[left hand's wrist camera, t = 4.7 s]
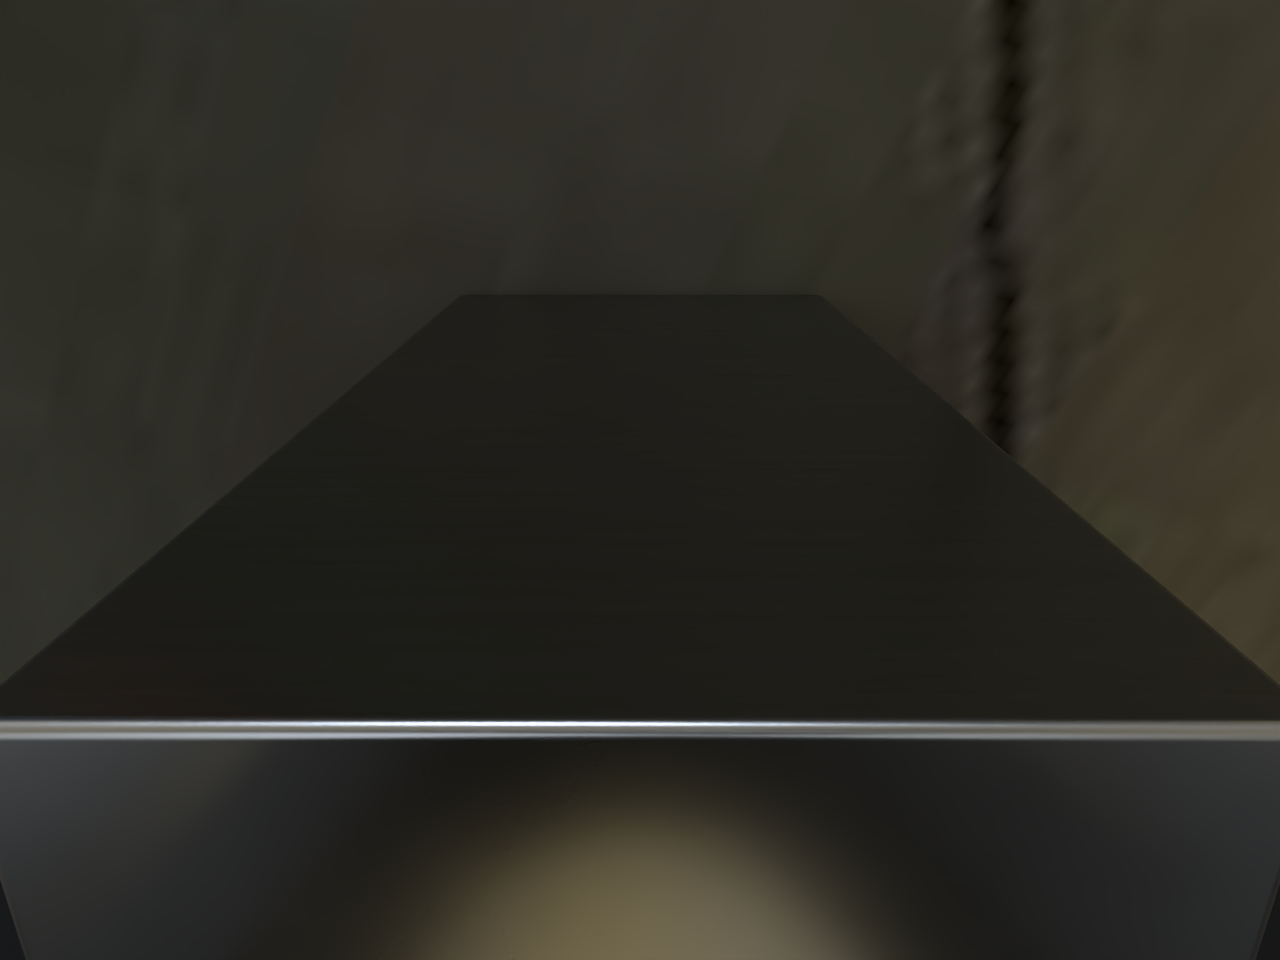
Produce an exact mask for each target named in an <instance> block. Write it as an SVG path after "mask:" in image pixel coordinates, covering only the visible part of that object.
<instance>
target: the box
mask: <svg viewBox="0 0 1280 960" xmlns="http://www.w3.org/2000/svg"><path fill="white" fill-rule="evenodd" d="M0 881H1V884H2V887H3V890H4V893H5V896H6V899H7V902H8V906H9V909H10V912H11V915H12V918H13V921H14V924H15V927H16V931H17V934H18V937H19V940H20V943H21V946H22V949H23V952H24V955H25V959H26V960H1256V957H1257V954H1258V950H1259V947H1260V944H1261V941H1262V938H1263V935H1264V932H1265V929H1266V926H1267V922H1268V919H1269V916H1270V913H1271V910H1272V907H1273V904H1274V901H1275V898H1276V895H1277V891H1278V888H1279V885H1280V685H1279V684H1278V683H1277V682H1276V681H1274V680H1273V679H1272V678H1271V677H1270V676H1269V675H1267V674H1266V673H1265V672H1264V671H1263V670H1261V669H1260V668H1259V667H1258V666H1257V665H1256V664H1254V663H1253V662H1252V661H1251V660H1250V659H1248V658H1247V657H1246V656H1245V655H1244V654H1243V653H1241V652H1240V651H1239V650H1238V649H1237V648H1236V647H1234V646H1233V645H1232V644H1231V643H1230V642H1228V641H1227V640H1226V639H1225V638H1224V637H1223V636H1221V635H1220V634H1219V633H1218V632H1217V631H1215V630H1214V629H1213V628H1212V627H1211V626H1210V625H1208V624H1207V623H1206V622H1205V621H1204V620H1203V619H1201V618H1200V617H1199V616H1198V615H1197V614H1195V613H1194V612H1193V611H1192V610H1191V609H1190V608H1188V607H1187V606H1186V605H1185V604H1184V603H1182V602H1181V601H1180V600H1179V599H1178V598H1177V597H1175V596H1174V595H1173V594H1172V593H1171V592H1169V591H1168V590H1167V589H1166V588H1165V587H1164V586H1162V585H1161V584H1160V583H1159V582H1158V581H1157V580H1155V579H1154V578H1153V577H1152V576H1151V575H1149V574H1148V573H1147V572H1146V571H1145V570H1144V569H1142V568H1141V567H1140V566H1139V565H1138V564H1136V563H1135V562H1134V561H1133V560H1132V559H1131V558H1129V557H1128V556H1127V555H1126V554H1125V553H1124V552H1122V551H1121V550H1120V549H1119V548H1118V547H1116V546H1115V545H1114V544H1113V543H1112V542H1111V541H1109V540H1108V539H1107V538H1106V537H1105V536H1103V535H1102V534H1101V533H1100V532H1099V531H1098V530H1096V529H1095V528H1094V527H1093V526H1092V525H1091V524H1089V523H1088V522H1087V521H1086V520H1085V519H1083V518H1082V517H1081V516H1080V515H1079V514H1078V513H1076V512H1075V511H1074V510H1073V509H1072V508H1070V507H1069V506H1068V505H1067V504H1066V503H1065V502H1063V501H1062V500H1061V499H1060V498H1059V497H1057V496H1056V495H1055V494H1054V493H1053V492H1052V491H1050V490H1049V489H1048V488H1047V487H1046V486H1045V485H1043V484H1042V483H1041V482H1040V481H1039V480H1037V479H1036V478H1035V477H1034V476H1033V475H1032V474H1030V473H1029V472H1028V471H1027V470H1026V469H1024V468H1023V467H1022V466H1021V465H1020V464H1019V463H1017V462H1016V461H1015V460H1014V459H1013V458H1012V457H1010V456H1009V455H1008V454H1007V453H1006V452H1004V451H1003V450H1002V449H1001V448H1000V447H999V446H997V445H996V444H995V443H994V442H993V441H991V440H990V439H989V438H988V437H987V436H986V435H984V434H983V433H982V432H981V431H980V430H978V429H977V428H976V427H975V426H974V425H973V424H971V423H970V422H969V421H968V420H967V419H966V418H964V417H963V416H962V415H961V414H960V413H958V412H957V411H956V410H955V409H954V408H953V407H951V406H950V405H949V404H948V403H947V402H945V401H944V400H943V399H942V398H941V397H940V396H938V395H937V394H936V393H935V392H934V391H933V390H931V389H930V388H929V387H928V386H927V385H925V384H924V383H923V382H922V381H921V380H920V379H918V378H917V377H916V376H915V375H914V374H912V373H911V372H910V371H909V370H908V369H907V368H905V367H904V366H903V365H902V364H901V363H900V362H898V361H897V360H896V359H895V358H894V357H892V356H891V355H890V354H889V353H888V352H887V351H885V350H884V349H883V348H882V347H881V346H879V345H878V344H877V343H876V342H875V341H874V340H872V339H871V338H870V337H869V336H868V335H866V334H865V333H864V332H863V331H862V330H861V329H859V328H858V327H857V326H856V325H855V324H854V323H852V322H851V321H850V320H849V319H848V318H846V317H845V316H844V315H843V314H842V313H841V312H839V311H838V310H837V309H836V308H835V307H833V306H832V305H831V304H830V303H829V302H828V301H826V300H825V299H824V298H823V297H821V296H460V297H458V298H457V299H456V300H455V301H453V302H452V303H451V304H450V305H449V306H448V307H446V308H445V309H444V310H443V311H442V312H441V313H439V314H438V315H437V316H436V317H435V318H433V319H432V320H431V321H430V322H429V323H428V324H426V325H425V326H424V327H423V328H422V329H420V330H419V331H418V332H417V333H416V334H415V335H413V336H412V337H411V338H410V339H409V340H407V341H406V342H405V343H404V344H403V345H402V346H400V347H399V348H398V349H397V350H396V351H394V352H393V353H392V354H391V355H390V356H389V357H387V358H386V359H385V360H384V361H383V362H381V363H380V364H379V365H378V366H377V367H376V368H374V369H373V370H372V371H371V372H370V373H368V374H367V375H366V376H365V377H364V378H363V379H361V380H360V381H359V382H358V383H357V384H355V385H354V386H353V387H352V388H351V389H350V390H348V391H347V392H346V393H345V394H344V395H343V396H341V397H340V398H339V399H338V400H337V401H335V402H334V403H333V404H332V405H331V406H330V407H328V408H327V409H326V410H325V411H324V412H322V413H321V414H320V415H319V416H318V417H317V418H315V419H314V420H313V421H312V422H311V423H309V424H308V425H307V426H306V427H305V428H304V429H302V430H301V431H300V432H299V433H298V434H296V435H295V436H294V437H293V438H292V439H291V440H289V441H288V442H287V443H286V444H285V445H283V446H282V447H281V448H280V449H279V450H278V451H276V452H275V453H274V454H273V455H272V456H270V457H269V458H268V459H267V460H266V461H265V462H263V463H262V464H261V465H260V466H259V467H258V468H256V469H255V470H254V471H253V472H252V473H250V474H249V475H248V476H247V477H246V478H245V479H243V480H242V481H241V482H240V483H239V484H237V485H236V486H235V487H234V488H233V489H232V490H230V491H229V492H228V493H227V494H226V495H224V496H223V497H222V498H221V499H220V500H219V501H217V502H216V503H215V504H214V505H213V506H211V507H210V508H209V509H208V510H207V511H206V512H204V513H203V514H202V515H201V516H200V517H198V518H197V519H196V520H195V521H194V522H193V523H191V524H190V525H189V526H188V527H187V528H185V529H184V530H183V531H182V532H181V533H180V534H178V535H177V536H176V537H175V538H174V539H173V540H171V541H170V542H169V543H168V544H167V545H165V546H164V547H163V548H162V549H161V550H160V551H158V552H157V553H156V554H155V555H154V556H152V557H151V558H150V559H149V560H148V561H147V562H145V563H144V564H143V565H142V566H141V567H139V568H138V569H137V570H136V571H135V572H134V573H132V574H131V575H130V576H129V577H128V578H126V579H125V580H124V581H123V582H122V583H121V584H119V585H118V586H117V587H116V588H115V589H113V590H112V591H111V592H110V593H109V594H108V595H106V596H105V597H104V598H103V599H102V600H100V601H99V602H98V603H97V604H96V605H95V606H93V607H92V608H91V609H90V610H89V611H87V612H86V613H85V614H84V615H83V616H82V617H80V618H79V619H78V620H77V621H76V622H75V623H73V624H72V625H71V626H70V627H69V628H67V629H66V630H65V631H64V632H63V633H62V634H60V635H59V636H58V637H57V638H56V639H54V640H53V641H52V642H51V643H50V644H49V645H47V646H46V647H45V648H44V649H43V650H41V651H40V652H39V653H38V654H37V655H36V656H34V657H33V658H32V659H31V660H30V661H28V662H27V663H26V664H25V665H24V666H23V667H21V668H20V669H19V670H18V671H17V672H15V673H14V674H13V675H12V676H11V677H10V678H8V679H7V680H6V681H5V682H4V683H2V684H1V685H0Z"/></svg>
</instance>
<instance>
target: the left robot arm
mask: <svg viewBox="0 0 1280 960" xmlns="http://www.w3.org/2000/svg"><path fill="white" fill-rule="evenodd" d="M0 960H26V959H25V955H24V952H23V949H22V946H21V943H20V940H19V937H18V934H17V931H16V927H15V924H14V921H13V918H12V915H11V912H10V909H9V906H8V902H7V899H6V896H5V893H4V890H3V887H2V884H1V881H0ZM1256 960H1280V885H1279V888H1278V891H1277V895H1276V898H1275V901H1274V904H1273V907H1272V910H1271V913H1270V916H1269V919H1268V922H1267V926H1266V929H1265V932H1264V935H1263V938H1262V941H1261V944H1260V947H1259V950H1258V954H1257V957H1256Z"/></svg>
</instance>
